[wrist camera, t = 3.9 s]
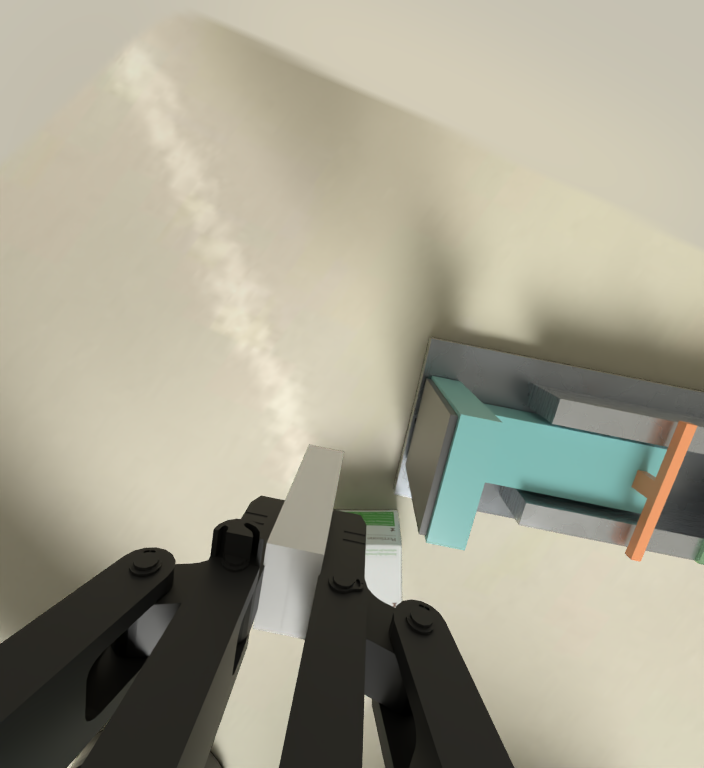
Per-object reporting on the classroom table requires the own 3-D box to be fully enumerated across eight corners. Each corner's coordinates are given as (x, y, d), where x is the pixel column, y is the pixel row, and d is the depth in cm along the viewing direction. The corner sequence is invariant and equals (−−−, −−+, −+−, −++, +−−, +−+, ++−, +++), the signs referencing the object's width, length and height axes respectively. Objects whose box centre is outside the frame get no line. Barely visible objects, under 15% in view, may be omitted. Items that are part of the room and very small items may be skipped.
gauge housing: (393, 487, 30) (399, 543, 24) (429, 336, 28) (448, 350, 21) (736, 557, 30) (842, 632, 24) (807, 412, 28) (949, 450, 21)
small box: (398, 507, 31) (403, 545, 26) (398, 569, 32) (403, 617, 27) (327, 506, 31) (319, 544, 26) (329, 568, 33) (322, 616, 28)
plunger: (401, 478, 29) (414, 557, 20) (429, 360, 27) (458, 392, 18) (618, 521, 29) (726, 620, 20) (663, 407, 27) (806, 462, 18)
